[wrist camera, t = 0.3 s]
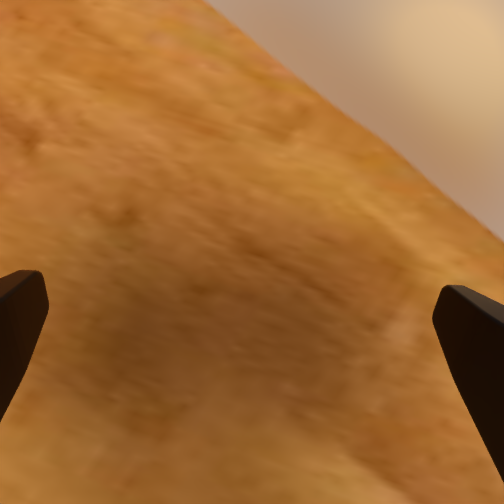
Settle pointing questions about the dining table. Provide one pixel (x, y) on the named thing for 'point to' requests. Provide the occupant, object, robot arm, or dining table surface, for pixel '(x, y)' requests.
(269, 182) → the dining table surface
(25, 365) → the robot arm
